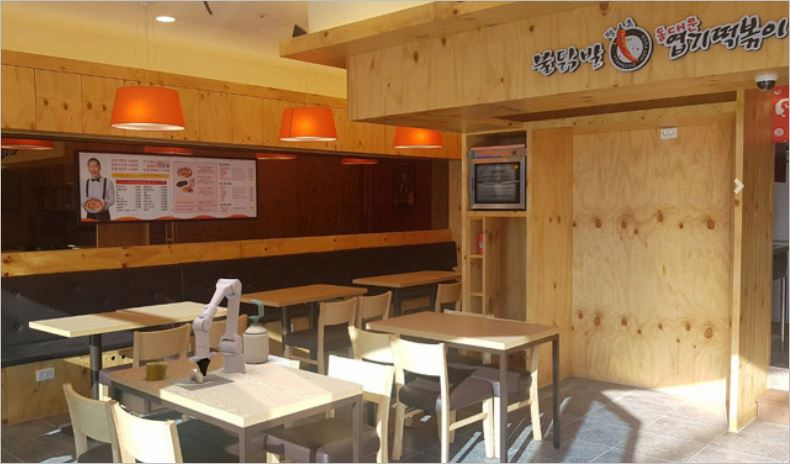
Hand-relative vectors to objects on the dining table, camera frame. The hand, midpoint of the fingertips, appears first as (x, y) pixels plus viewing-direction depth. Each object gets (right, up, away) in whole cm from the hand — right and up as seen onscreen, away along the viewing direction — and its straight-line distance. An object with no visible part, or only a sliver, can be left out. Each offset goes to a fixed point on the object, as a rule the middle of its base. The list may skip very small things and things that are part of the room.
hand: (203, 375), depth 309 cm
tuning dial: (-3, -2, +1) cm, 4 cm away
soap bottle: (+15, -2, +42) cm, 45 cm away
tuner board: (-1, -4, 0) cm, 4 cm away
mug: (-23, -4, +9) cm, 25 cm away
